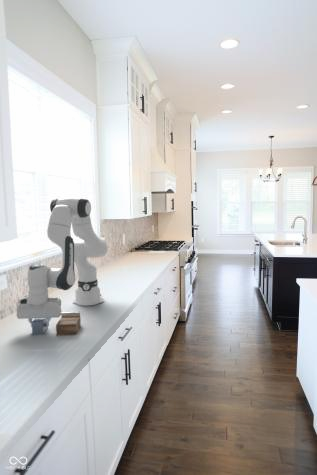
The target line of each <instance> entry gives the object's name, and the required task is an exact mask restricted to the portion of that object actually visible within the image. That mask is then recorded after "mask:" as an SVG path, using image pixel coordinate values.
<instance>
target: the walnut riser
mask: <svg viewBox="0 0 317 475" xmlns="http://www.w3.org/2000/svg"><path fill="white" fill-rule="evenodd" d="M59 318H60V319H59V320H58V321H57V323H56V325H55V330H56V332H55V333H56V336H75V335H77V333H78V332H79V330H80V328H81V324H82V323H81V311H67V312H66V311H64V312H62V314H61V316H60V317H59Z"/></svg>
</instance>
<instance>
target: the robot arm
mask: <svg viewBox="0 0 317 475" xmlns="http://www.w3.org/2000/svg"><path fill="white" fill-rule="evenodd" d="M49 209H50V210H49V211H50V213H51V214H50V215H49V216H50V217H49V218H48V220H49V221H48V224H47V231H46V232H47V234H46V236H47V237H48V239H49V240H50V241H51V242H52V243H53V244H55V245H57V246H58V247H59V248H61V250H62V251H61V252H62V259H61V260H62V264H61V265H62V267H61V268H56V267H50V266H47V265H46V264H45V263H44V262H39V263H34V264H31V265H30V266H29V267H28V269H27V286H28V293H27V295H23V296H21V297H20V298H19V299H18V300H17V303H18V304H17V307H16V318H17V319H19V320H21V319H22V320H23V319H26V320H27V321H28V322H29V324H30V328H32V321H33V320H34V319H35V318H47V320H48V321H47V322H46V323H45V327H48V328H49V326H50V321H51V320H52V318H61V314H62V300H61V299H60V298H59V297H49V288H50V289H58V290H62V291H69V290H70V289H71V288H72V287H73V286H74V285H75V282H76V274H75V266H76V269H77V275H78V276H77V278H78V279H77V287H76V289H75V300H73V301H72V304H75V305H78V306H83V307H84V306H86V307H87V306H94V305H98V304H101V303H104V302H105V300H104V297H103V295H102V294H101V289H100V287H99V281H98V276H97V267H96V266H95V264H93V263H91V262H89V260H88V259H90V258H92V259H93V258H94V259H95V258H96V259H97V258H98V259H99V258H103V257H105V256H106V255H107V253H108V250H109V248H108V244H107V242H106V241H105V240H103V239H101V238H100V237H99V236H98V235H97V234H96V233H95V231H94V228H93V225H92V220H91V216H90V214H91V211H92V204H91V202H90V200H88V199H87V198H83V197H74V196H73V197H72V196H69V197H68V196H66V197H65V196H64V197H60V196H59V197H54V198H53V199H52V200H51V202H50V204H49ZM71 229H72V232H73V234H74V236H75V237H76V238H78V239H73V237H72V236H71Z"/></svg>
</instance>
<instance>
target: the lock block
mask: <svg viewBox="0 0 317 475" xmlns="http://www.w3.org/2000/svg"><path fill="white" fill-rule="evenodd" d="M47 321H48V320H47V318H33V319H32V327H31V330H32V331H31V332H32V333H31V334H32V335H33V336H35V335H36V336H37V335H44V334H45V333H46V332H47V330H48V329H49V326H48V327H45V323H46V322H47Z"/></svg>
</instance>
